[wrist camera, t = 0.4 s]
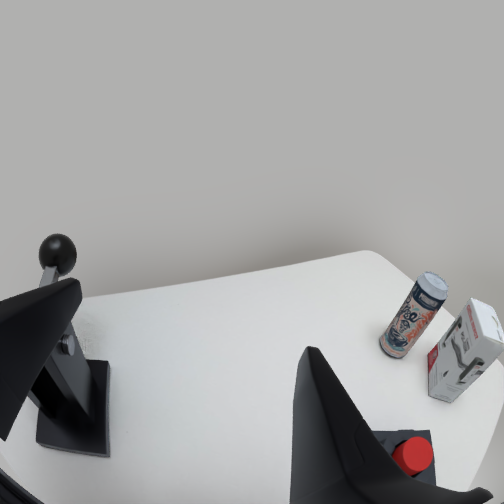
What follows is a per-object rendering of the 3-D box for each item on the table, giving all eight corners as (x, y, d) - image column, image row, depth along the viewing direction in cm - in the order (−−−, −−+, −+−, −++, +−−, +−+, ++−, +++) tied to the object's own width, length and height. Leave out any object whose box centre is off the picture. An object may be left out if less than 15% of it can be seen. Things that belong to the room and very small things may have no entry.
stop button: (419, 443, 17) (430, 435, 16) (422, 474, 13) (434, 468, 13) (390, 444, 17) (401, 436, 16) (391, 478, 14) (404, 473, 13)
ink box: (426, 353, 33) (470, 293, 27) (448, 362, 31) (492, 305, 25) (427, 397, 26) (485, 334, 20) (452, 404, 24) (508, 346, 18)
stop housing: (415, 439, 20) (440, 421, 18) (419, 499, 14) (449, 487, 11) (339, 439, 21) (361, 421, 19) (334, 509, 14) (361, 503, 12)
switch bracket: (52, 361, 21) (13, 272, 15) (110, 366, 23) (86, 276, 17) (40, 445, 13) (-33, 376, 7) (110, 457, 15) (58, 399, 9)
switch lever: (51, 254, 20) (41, 224, 18) (83, 255, 21) (76, 224, 19) (23, 366, 13) (0, 343, 10) (63, 372, 14) (43, 350, 11)
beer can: (372, 342, 34) (415, 273, 28) (389, 331, 36) (428, 266, 30) (395, 364, 30) (444, 297, 24) (410, 351, 33) (455, 287, 27)
